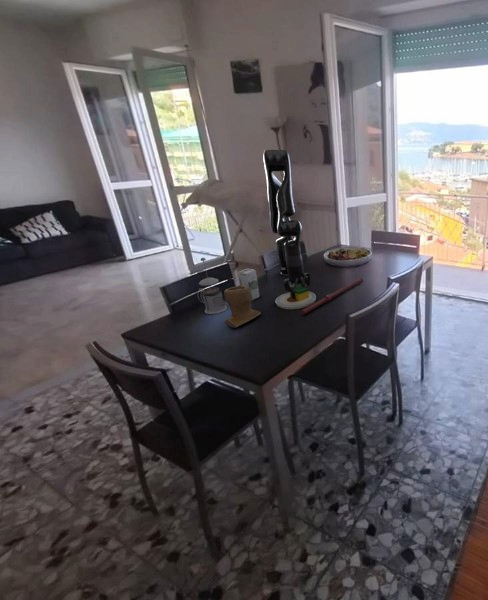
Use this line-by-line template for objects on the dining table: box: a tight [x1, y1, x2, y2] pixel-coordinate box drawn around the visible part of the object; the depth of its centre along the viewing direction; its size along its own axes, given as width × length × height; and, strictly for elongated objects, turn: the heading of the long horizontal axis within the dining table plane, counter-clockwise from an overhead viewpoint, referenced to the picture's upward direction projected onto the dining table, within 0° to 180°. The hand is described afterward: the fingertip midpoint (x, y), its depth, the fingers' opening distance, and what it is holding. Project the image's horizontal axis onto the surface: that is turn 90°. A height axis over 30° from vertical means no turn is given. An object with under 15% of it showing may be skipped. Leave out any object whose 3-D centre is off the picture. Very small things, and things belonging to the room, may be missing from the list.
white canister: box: [237, 268, 261, 302], centre depth 172 cm, size 6×6×14 cm
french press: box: [197, 257, 228, 315], centre depth 159 cm, size 10×12×25 cm
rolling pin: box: [300, 277, 364, 316], centre depth 174 cm, size 45×3×3 cm, turn 151°
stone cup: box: [223, 285, 262, 329], centre depth 151 cm, size 15×12×15 cm
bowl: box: [323, 246, 373, 268], centre depth 225 cm, size 30×30×8 cm
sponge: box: [288, 284, 310, 301], centre depth 172 cm, size 8×6×4 cm
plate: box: [274, 290, 317, 310], centre depth 172 cm, size 19×19×1 cm
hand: (299, 296), depth 173 cm, fingers closed on sponge, 5 cm apart
